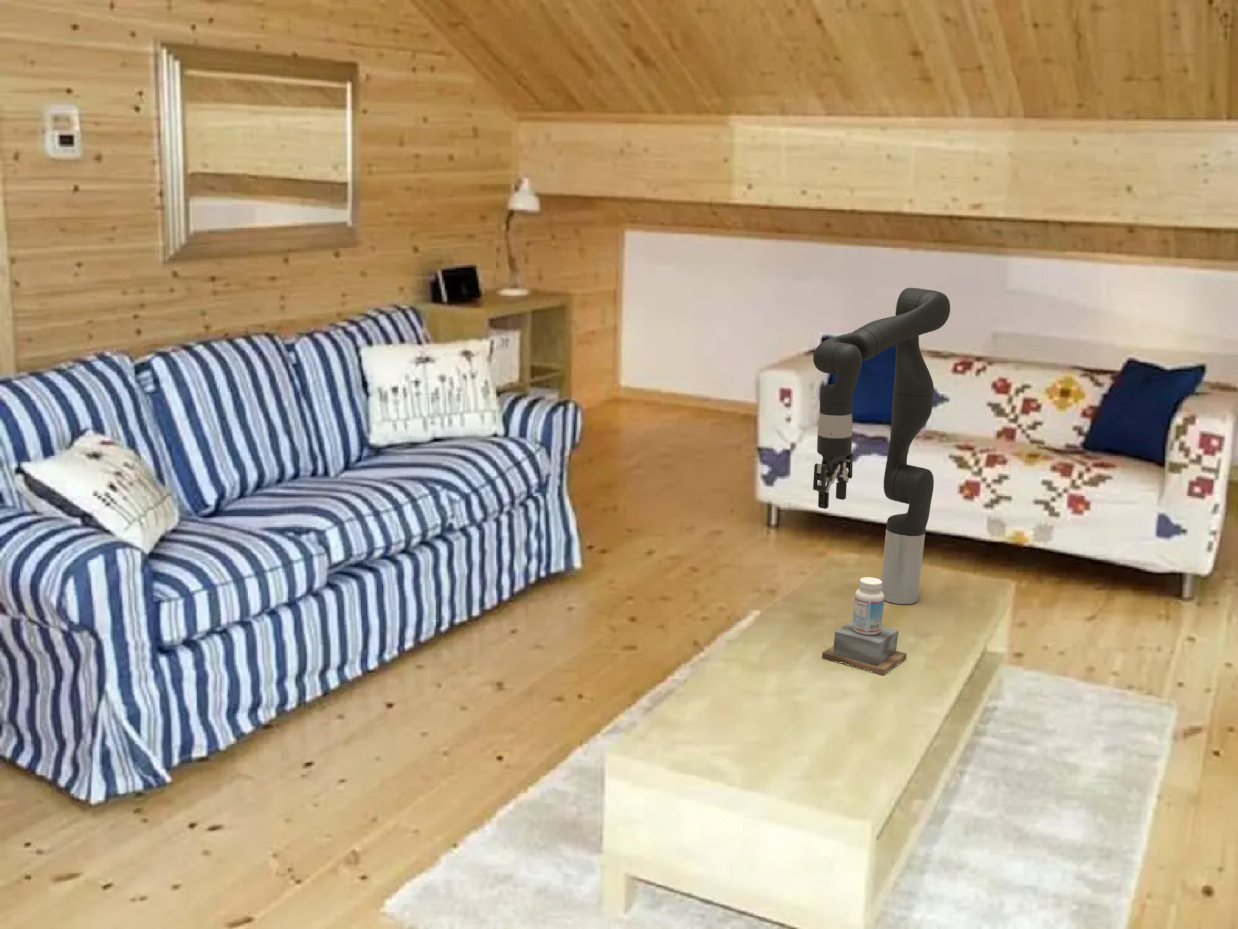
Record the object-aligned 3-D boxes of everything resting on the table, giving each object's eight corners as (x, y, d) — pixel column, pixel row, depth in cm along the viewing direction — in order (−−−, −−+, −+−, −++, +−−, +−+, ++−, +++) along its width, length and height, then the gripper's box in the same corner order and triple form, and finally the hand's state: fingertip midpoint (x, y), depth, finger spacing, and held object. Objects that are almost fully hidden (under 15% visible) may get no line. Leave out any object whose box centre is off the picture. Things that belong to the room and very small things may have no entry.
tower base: (846, 642, 279) (848, 615, 278) (906, 658, 271) (909, 631, 270) (821, 658, 269) (824, 630, 268) (883, 675, 262) (886, 647, 260)
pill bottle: (879, 627, 272) (884, 577, 269) (882, 637, 266) (887, 586, 263) (850, 624, 272) (855, 574, 270) (852, 634, 266) (857, 584, 264)
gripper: (835, 441, 270) (832, 514, 275) (864, 428, 281) (861, 498, 286) (804, 436, 275) (801, 508, 279) (834, 424, 286) (831, 493, 290)
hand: (832, 503), depth 282 cm, fingers open, 8 cm apart
